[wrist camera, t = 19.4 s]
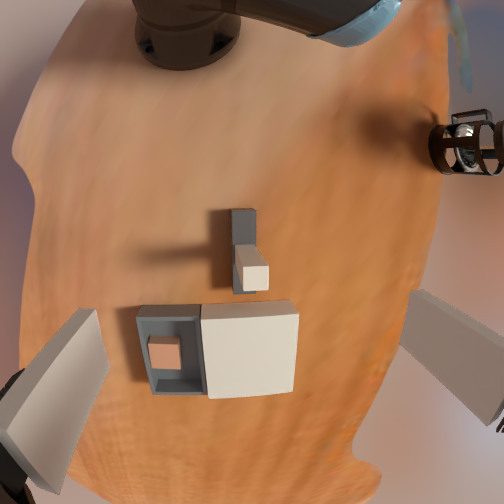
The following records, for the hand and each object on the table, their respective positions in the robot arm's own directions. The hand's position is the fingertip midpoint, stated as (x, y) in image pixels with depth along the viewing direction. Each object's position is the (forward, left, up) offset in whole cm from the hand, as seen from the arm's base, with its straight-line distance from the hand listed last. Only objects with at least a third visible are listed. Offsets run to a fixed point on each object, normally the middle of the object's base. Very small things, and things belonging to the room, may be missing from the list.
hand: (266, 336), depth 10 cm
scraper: (+3, +2, -29) cm, 29 cm away
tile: (+18, -10, -26) cm, 33 cm away
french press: (-15, +39, -29) cm, 51 cm away
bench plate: (+18, +2, -29) cm, 34 cm away
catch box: (+18, -9, -29) cm, 35 cm away
